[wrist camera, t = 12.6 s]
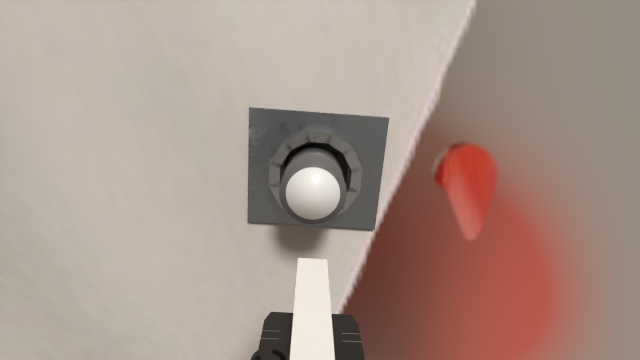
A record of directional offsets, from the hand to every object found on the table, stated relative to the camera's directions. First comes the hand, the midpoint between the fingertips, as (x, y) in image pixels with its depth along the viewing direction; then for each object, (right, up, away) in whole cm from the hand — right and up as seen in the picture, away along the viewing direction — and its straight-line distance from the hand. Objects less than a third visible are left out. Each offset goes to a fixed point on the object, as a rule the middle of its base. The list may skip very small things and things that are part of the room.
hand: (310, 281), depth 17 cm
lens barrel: (0, +6, +22) cm, 23 cm away
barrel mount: (0, +6, +23) cm, 24 cm away
